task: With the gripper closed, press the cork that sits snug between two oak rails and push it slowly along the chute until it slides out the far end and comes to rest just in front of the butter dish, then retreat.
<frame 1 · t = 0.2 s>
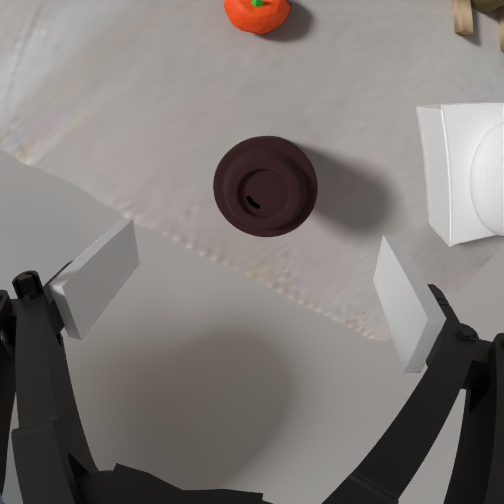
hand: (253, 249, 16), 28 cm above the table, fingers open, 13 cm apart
butter dish: (471, 158, 36), on the table
pumpkin: (257, 13, 32), on the table
coffee cup: (272, 161, 41), on the table
chute: (479, 6, 24), on the table
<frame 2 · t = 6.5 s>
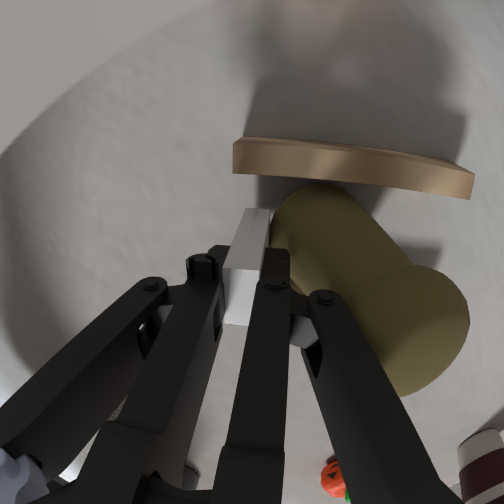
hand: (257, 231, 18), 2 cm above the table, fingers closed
pumpkin: (347, 461, 34), on the table
coffee cup: (477, 439, 31), on the table
chute: (345, 229, 19), on the table
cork: (316, 230, 19), point 1 cm above the table, touching gripper, hand
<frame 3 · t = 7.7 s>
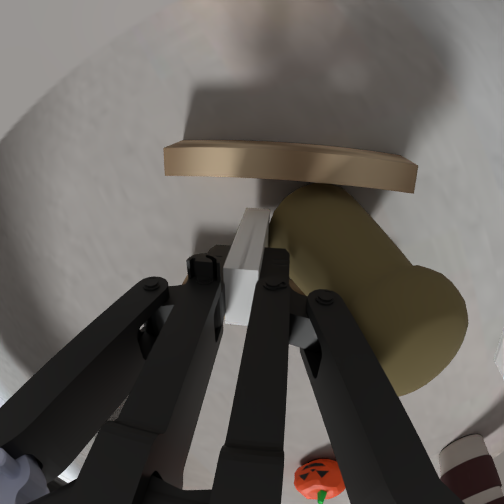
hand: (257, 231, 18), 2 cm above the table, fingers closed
pumpkin: (322, 463, 34), on the table
coffee cup: (460, 445, 31), on the table
chute: (287, 227, 19), on the table
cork: (315, 230, 19), point 1 cm above the table, touching gripper, hand
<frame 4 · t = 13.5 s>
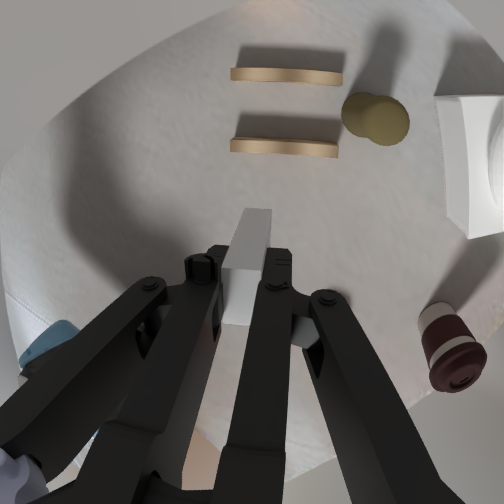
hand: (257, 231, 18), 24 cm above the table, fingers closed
butter dish: (485, 151, 34), on the table
coffee cup: (434, 316, 48), on the table
chute: (285, 110, 36), on the table
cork: (363, 114, 35), on the table
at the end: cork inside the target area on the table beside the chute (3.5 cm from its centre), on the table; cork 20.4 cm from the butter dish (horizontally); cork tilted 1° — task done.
